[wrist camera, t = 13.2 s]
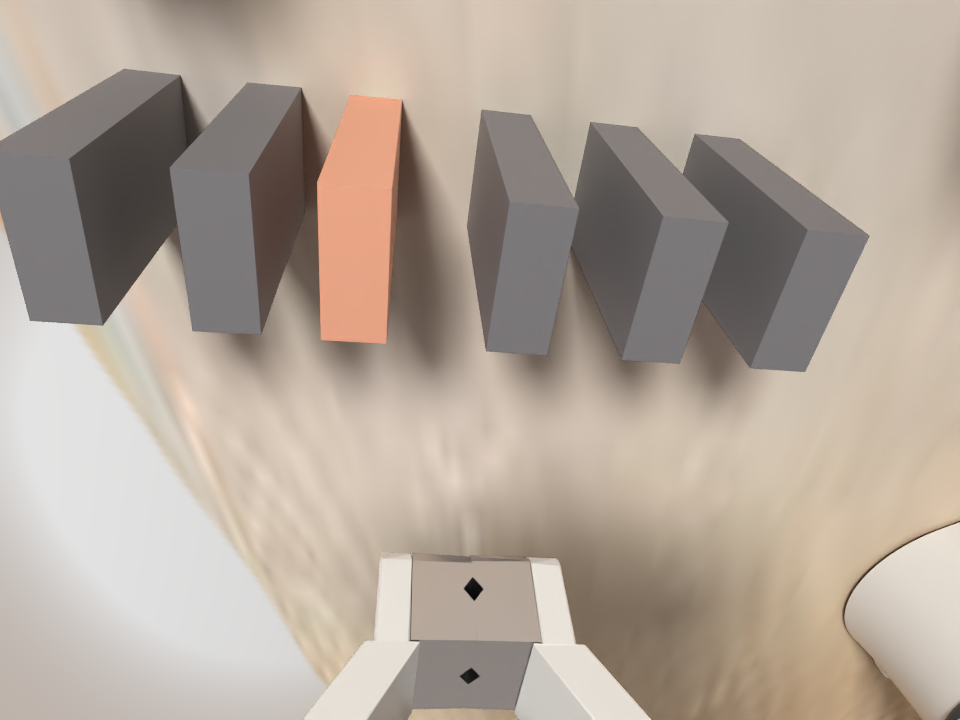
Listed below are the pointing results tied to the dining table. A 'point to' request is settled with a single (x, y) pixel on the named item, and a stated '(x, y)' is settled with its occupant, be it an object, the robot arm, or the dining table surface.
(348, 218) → the domino
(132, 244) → the domino
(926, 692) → the robot arm
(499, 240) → the domino
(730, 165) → the domino
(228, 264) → the domino
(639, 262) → the domino
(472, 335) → the dining table surface
